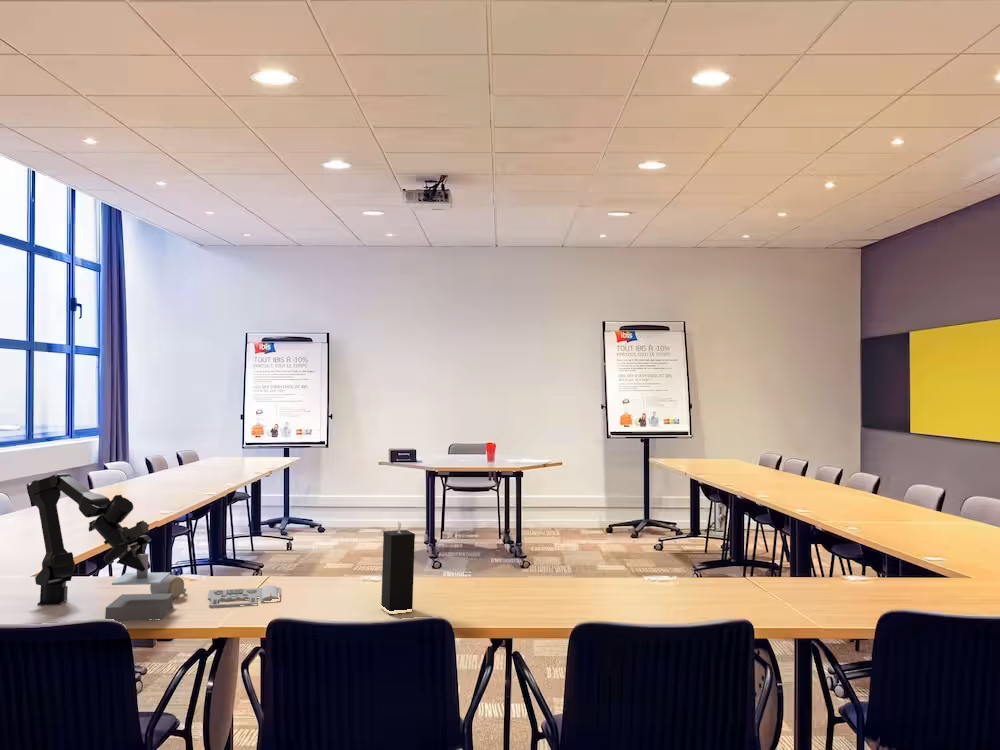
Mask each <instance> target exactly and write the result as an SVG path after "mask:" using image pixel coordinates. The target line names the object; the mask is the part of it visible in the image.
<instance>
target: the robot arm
mask: <svg viewBox="0 0 1000 750" xmlns="http://www.w3.org/2000/svg"><path fill="white" fill-rule="evenodd" d="M27 490H28V491H27V492H28V494H29V499H30V501H31V502H32V503H33V505H35V507H36V508H37V509H38V513H39V519H40V523H41V524H40V525H41V531H42V536H43V542H44V546H45V555H44V557H43V560H42V561H41V570H40V571H39V572H38V573H37V575H36V576H35V577H34V581H35V584H36V585H37V586H40V591H39V592H40V594H39V595H40V597H39V602H37V605H38V606H48V605H51V606H52V605H57V606H59V605H61V604H63V603H64V602H66V601H68V588H69V586H67V582H71V581H72V579H73V578H72V577H73V574H74V571H75V569H76V568H75V567H76V566H75V565H76V562H75V560H74V554H73V552H72V551H69V552H68V551H67V550H66V549H65V546H64V540H63V534H62V528H61V523H60V518H59V512H58V505H57V504H58V502H59V500H60V498H61V495H62V493H63V494H65V495H66V496H67V497H68V498H70V499H71V500H72V501H73V502H75V503H76V504H77V505H78V510H79V512H80V513H81V514H82V515H83V517H85V518H95V519H94V520H92V521H90V522H89V523H88V524H89V526H88V532H93V531H97V532H98V534H99V535H100V536H101V537H102V538H103V539H104V541H103V543H104V545H109V546H110V547H111V549H110V550H109V551H107V553H106V554H105V555H103V561H104V562H105V563H106V564H107V565H108V566H109V565H112V564H113V563H114V562H115V559H116V558H117V557H118V560H117V561H116V564H120V565H123V566H127V567H129V568H131V569H134V570H136V571H137V570H139V571H142V572H143V571H145V570H146V569H145V567H144V565H143V564H142V563H141V561H140V560H139V558H138V554H146V552H145V549H146V546H147V545H148V544H149V543H150V542H151V541H152V538H151V537H150V535H147V534H146V533H150V530H149V527H150V524H148V522H147V521H145V520H140V521H137V522H136V523H135V525H134V526H132V527H130V528H129V527H128V526H122V525H121V523H122V522H123V521H124V520H125V519H126V518H127V517H128V516H129V514H131V512H132V511H133V509H134V504H133V502H132V501H130V500H129V499H128V498H126V497H123V496H122V494H115V495H114V496H113V498H111V500H110V498H109V497H107V496H106V495H105V496H104V495H103V494H100V493H95V492H91V491H90V490H89V489H88V488H86V487H85V486H84V485H83V484H81V483H80V482H78V481H77V480H76V479H75V478H73V476H72V475H71V474H70V473H68V472H67V473H64V472H63V473H54V474H53V475H50V476H48V477H46V478H45V477H44V478H42V479H36V480H35V479H34V480H33V481H31V483H30V484H29V486H28V488H27ZM61 492H62V493H61ZM96 517H97V518H96ZM151 566H152V565H151V563H150V562H149V560H148V570H150V569H151Z"/></svg>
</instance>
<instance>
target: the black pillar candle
mask: <svg viewBox="0 0 1000 750" xmlns="http://www.w3.org/2000/svg"><path fill="white" fill-rule="evenodd" d="M401 527H402V524H401V522H400V521H398V522H397V528H398V529H397V530H383V532H382V534H383V538H382V539H383V545H382V549H383V550H382V574H381V576H382V577H381V602H380V605H382V606H383V607H385V608H386V609H387V610H389V611H394V610H407V609H412V610H413V604H414V601H413V600H414V599H413V598H414V574H415V573H414V569H415V568H414V567H415V566H414V565H415V539H416V534H415V533H414V532H412V531H409V530H407V529H401Z"/></svg>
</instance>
